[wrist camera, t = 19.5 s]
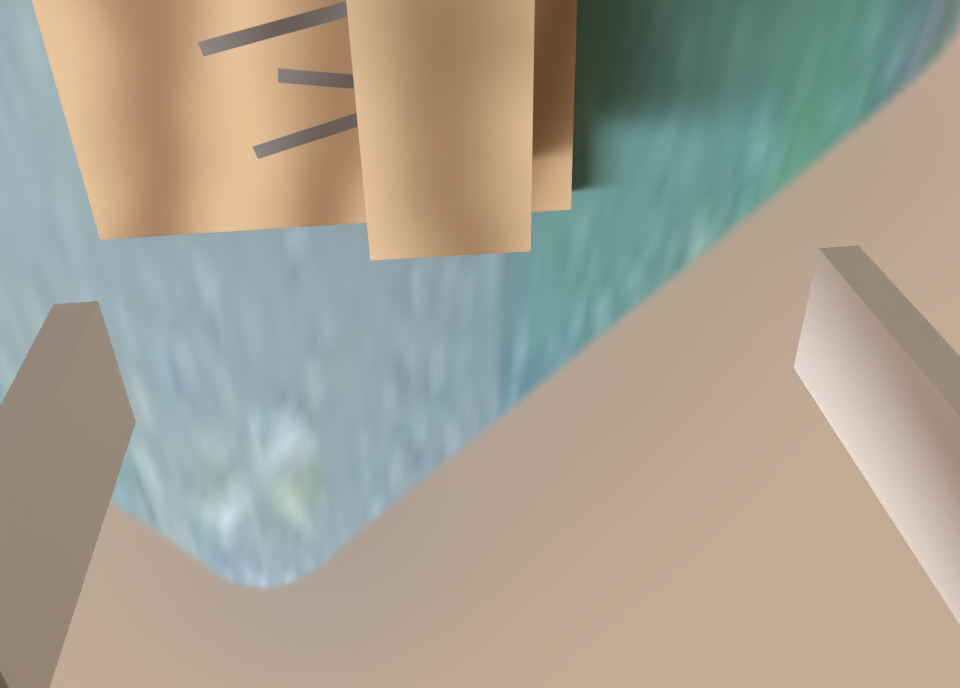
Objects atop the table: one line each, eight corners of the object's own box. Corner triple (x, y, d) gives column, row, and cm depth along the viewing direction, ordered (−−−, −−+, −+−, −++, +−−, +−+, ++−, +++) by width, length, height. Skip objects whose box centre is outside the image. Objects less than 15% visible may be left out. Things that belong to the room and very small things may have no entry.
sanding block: (371, 170, 34) (370, 260, 28) (351, -61, 30) (345, -10, 24) (505, 164, 35) (530, 251, 29) (505, -66, 30) (535, -17, 24)
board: (110, 222, 36) (100, 239, 35) (15, -118, 29) (-1, -111, 28) (564, 193, 37) (570, 209, 36) (573, -141, 30) (581, -135, 29)
